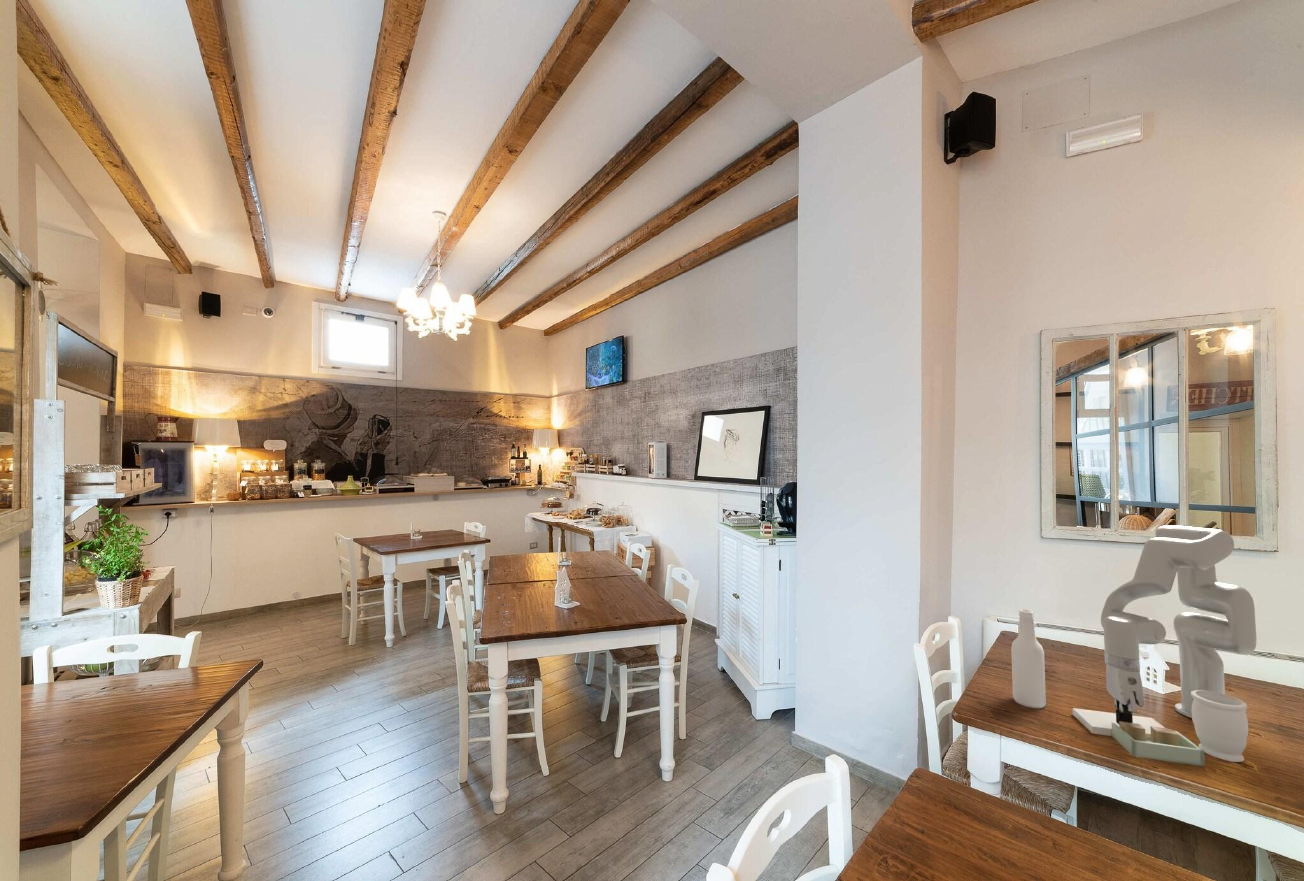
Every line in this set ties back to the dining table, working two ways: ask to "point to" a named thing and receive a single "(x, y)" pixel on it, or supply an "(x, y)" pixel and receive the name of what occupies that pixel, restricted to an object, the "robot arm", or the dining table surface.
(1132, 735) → the tan block
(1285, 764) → the dining table surface
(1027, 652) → the alcohol
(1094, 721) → the board
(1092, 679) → the dining table surface
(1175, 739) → the tan faceted block
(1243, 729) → the jar
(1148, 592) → the robot arm
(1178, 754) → the tray
